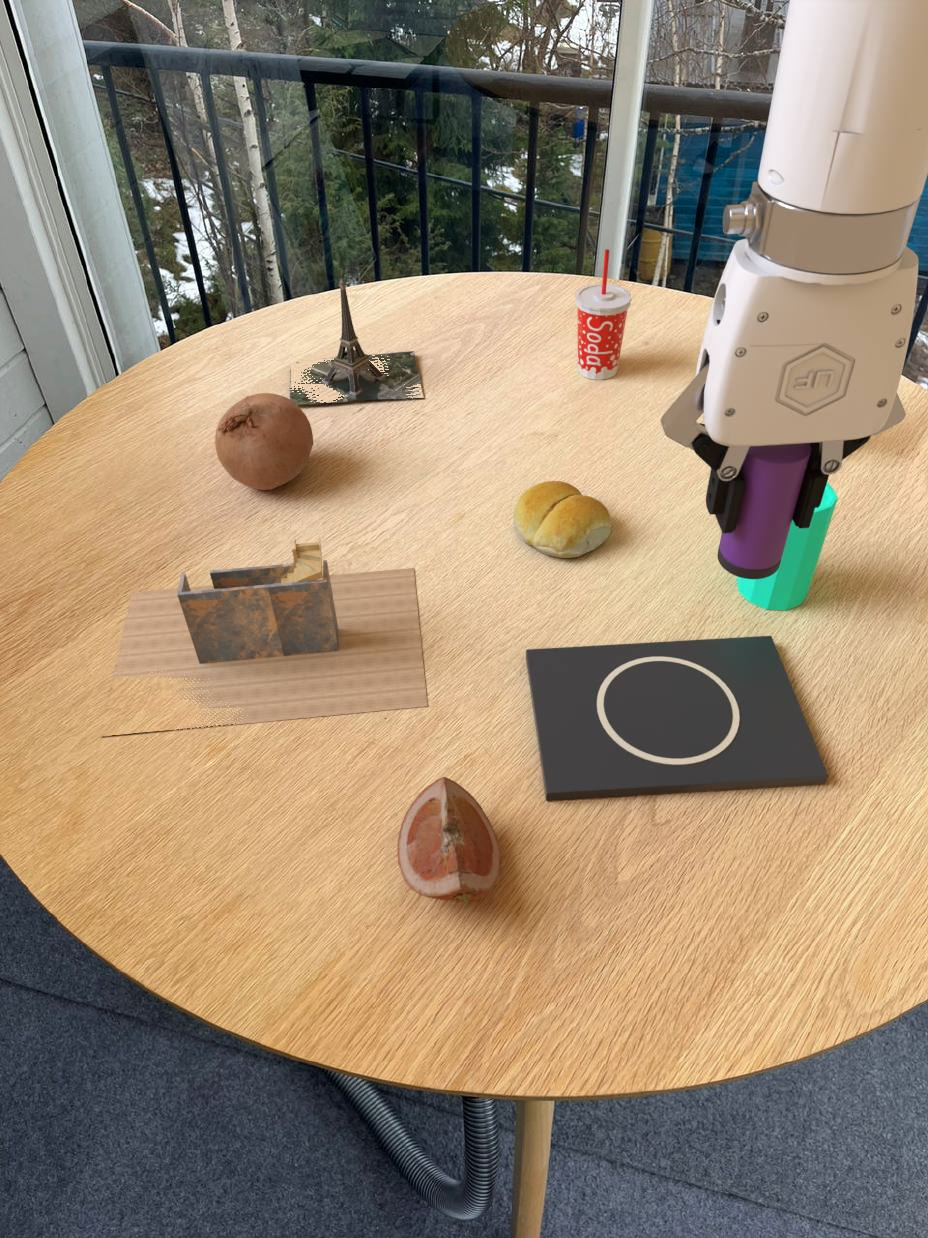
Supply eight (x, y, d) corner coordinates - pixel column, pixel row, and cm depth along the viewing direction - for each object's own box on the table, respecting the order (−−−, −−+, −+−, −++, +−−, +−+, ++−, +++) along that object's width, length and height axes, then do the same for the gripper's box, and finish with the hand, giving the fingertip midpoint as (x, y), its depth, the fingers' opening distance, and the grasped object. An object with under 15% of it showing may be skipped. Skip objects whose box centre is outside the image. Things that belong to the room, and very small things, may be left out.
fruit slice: (510, 921, 60) (511, 880, 56) (405, 935, 59) (400, 895, 56) (490, 811, 66) (490, 768, 62) (395, 823, 65) (389, 781, 62)
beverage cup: (560, 373, 108) (567, 254, 99) (587, 351, 112) (595, 233, 102) (607, 388, 106) (619, 267, 96) (633, 365, 109) (646, 245, 100)
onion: (259, 523, 95) (210, 472, 86) (232, 455, 99) (182, 400, 90) (341, 477, 94) (300, 422, 85) (311, 411, 98) (268, 352, 89)
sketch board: (769, 643, 77) (771, 634, 76) (825, 784, 67) (829, 775, 66) (525, 657, 76) (525, 648, 76) (546, 801, 66) (546, 792, 66)
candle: (803, 617, 79) (840, 503, 71) (731, 601, 80) (758, 488, 72) (810, 572, 83) (846, 459, 74) (741, 558, 84) (769, 445, 76)
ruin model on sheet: (413, 568, 85) (406, 479, 78) (427, 706, 73) (420, 616, 66) (131, 592, 83) (99, 504, 76) (100, 737, 71) (58, 649, 65)
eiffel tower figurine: (416, 354, 112) (409, 243, 103) (424, 398, 105) (417, 283, 96) (290, 365, 111) (271, 253, 102) (290, 410, 104) (270, 295, 95)
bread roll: (555, 491, 92) (557, 457, 90) (623, 534, 87) (627, 499, 85) (492, 526, 89) (492, 492, 86) (559, 573, 84) (562, 538, 81)
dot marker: (769, 537, 63) (799, 422, 57) (787, 577, 60) (820, 461, 54) (710, 541, 63) (733, 426, 57) (726, 581, 60) (751, 465, 54)
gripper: (677, 266, 43) (638, 565, 56) (1033, 245, 44) (913, 547, 57) (644, 204, 49) (616, 489, 62) (962, 186, 49) (868, 473, 62)
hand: (759, 514), depth 59 cm, fingers closed on dot marker, 4 cm apart
